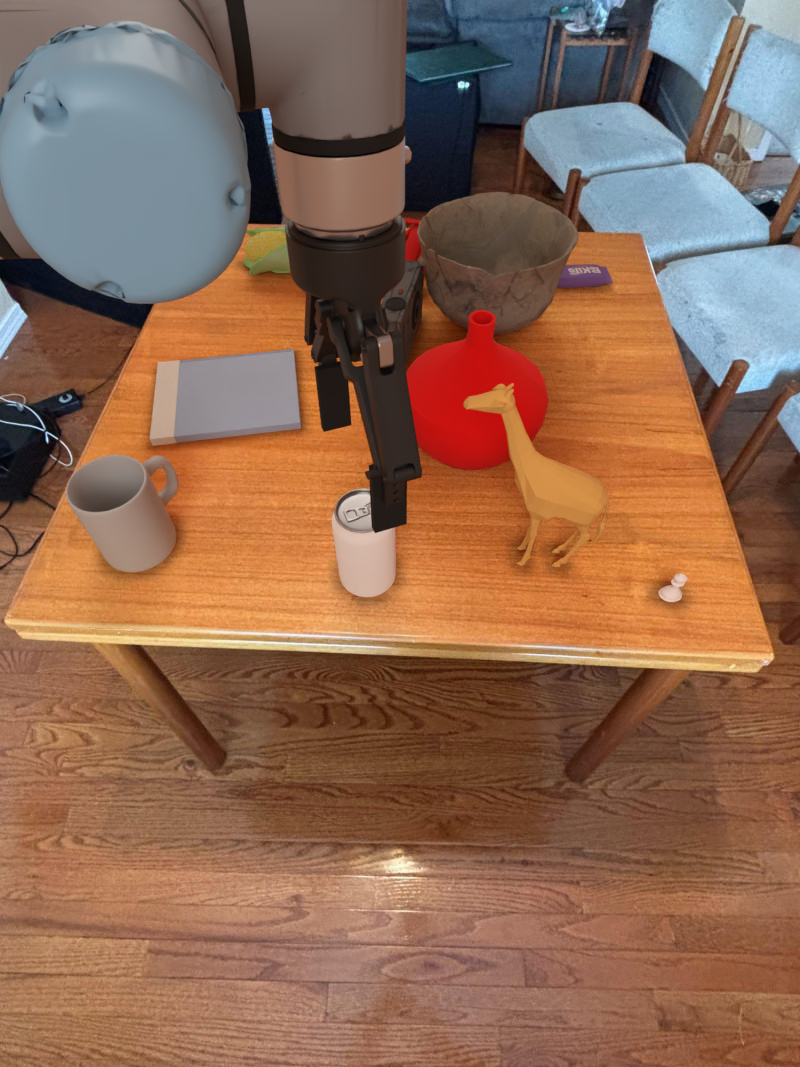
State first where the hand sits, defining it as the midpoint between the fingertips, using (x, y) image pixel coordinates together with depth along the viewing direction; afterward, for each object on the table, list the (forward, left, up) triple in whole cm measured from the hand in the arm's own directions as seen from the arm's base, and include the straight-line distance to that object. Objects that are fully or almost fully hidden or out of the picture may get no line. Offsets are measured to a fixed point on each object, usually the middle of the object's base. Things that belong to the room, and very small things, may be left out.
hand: (360, 472), depth 55 cm
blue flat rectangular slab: (-16, +36, -20) cm, 44 cm away
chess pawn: (+33, -5, -21) cm, 39 cm away
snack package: (+42, +56, -21) cm, 73 cm away
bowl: (+25, +48, -21) cm, 58 cm away
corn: (-4, +67, -21) cm, 70 cm away
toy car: (+15, +63, -21) cm, 68 cm away
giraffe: (+18, +2, -21) cm, 27 cm away
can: (0, +3, -21) cm, 21 cm away
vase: (+16, +22, -21) cm, 34 cm away
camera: (+10, +43, -21) cm, 48 cm away
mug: (-25, +13, -21) cm, 35 cm away
